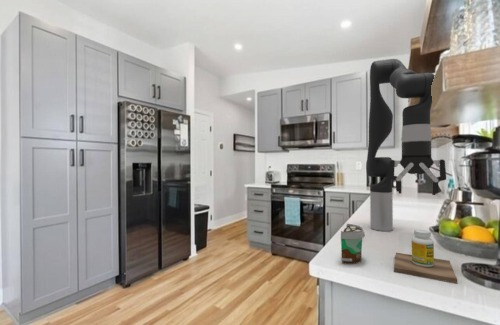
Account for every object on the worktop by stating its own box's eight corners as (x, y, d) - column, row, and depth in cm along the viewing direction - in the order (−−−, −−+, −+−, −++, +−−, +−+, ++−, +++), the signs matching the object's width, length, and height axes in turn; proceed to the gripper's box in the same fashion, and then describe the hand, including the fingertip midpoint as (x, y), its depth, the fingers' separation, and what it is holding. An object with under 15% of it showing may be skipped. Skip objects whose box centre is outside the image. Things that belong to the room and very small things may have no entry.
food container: (363, 268, 74) (362, 234, 74) (340, 264, 77) (340, 231, 77) (366, 255, 85) (366, 225, 85) (347, 252, 88) (346, 223, 88)
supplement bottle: (416, 259, 78) (416, 227, 78) (437, 264, 73) (436, 231, 73) (408, 262, 75) (407, 230, 75) (429, 269, 70) (428, 234, 70)
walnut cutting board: (395, 256, 84) (395, 252, 84) (449, 264, 76) (449, 260, 76) (393, 271, 72) (393, 267, 72) (457, 283, 64) (457, 278, 65)
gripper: (443, 140, 76) (444, 193, 77) (389, 142, 84) (390, 191, 84) (447, 138, 70) (447, 197, 70) (388, 141, 77) (388, 194, 78)
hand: (416, 194), depth 77 cm, fingers open, 8 cm apart
